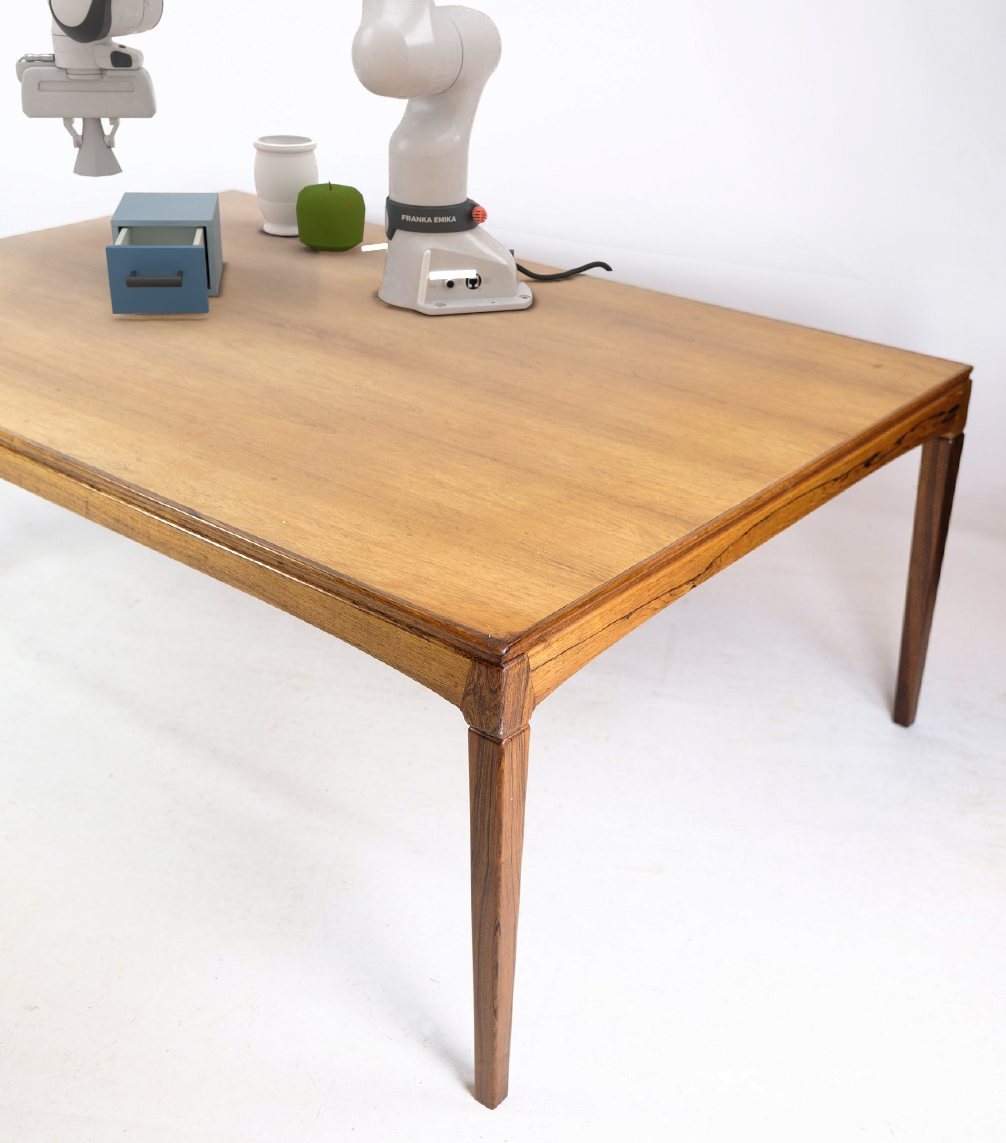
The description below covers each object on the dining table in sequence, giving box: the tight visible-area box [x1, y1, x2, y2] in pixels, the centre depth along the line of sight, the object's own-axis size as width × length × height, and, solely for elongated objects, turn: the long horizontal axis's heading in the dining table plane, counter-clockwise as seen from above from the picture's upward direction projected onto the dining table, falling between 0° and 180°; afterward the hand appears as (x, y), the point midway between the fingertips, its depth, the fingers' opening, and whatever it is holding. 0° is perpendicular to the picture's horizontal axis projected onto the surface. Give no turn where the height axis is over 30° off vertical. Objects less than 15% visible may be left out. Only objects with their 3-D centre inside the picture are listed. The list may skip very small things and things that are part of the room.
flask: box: [72, 118, 123, 178], centre depth 205 cm, size 7×7×10 cm
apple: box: [296, 180, 367, 253], centre depth 209 cm, size 11×11×11 cm
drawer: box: [105, 226, 210, 315], centre depth 177 cm, size 22×13×9 cm, turn 8°
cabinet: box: [110, 191, 224, 297], centre depth 190 cm, size 18×14×11 cm
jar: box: [252, 134, 319, 237], centre depth 217 cm, size 11×10×15 cm
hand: (95, 147), depth 205 cm, fingers closed on flask, 3 cm apart
